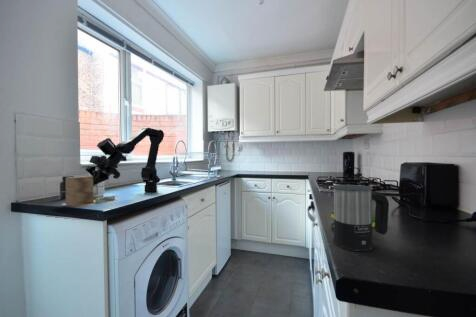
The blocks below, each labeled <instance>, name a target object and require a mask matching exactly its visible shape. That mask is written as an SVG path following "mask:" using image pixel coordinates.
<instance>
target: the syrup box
mask: <svg viewBox="0 0 476 317" xmlns="http://www.w3.org/2000/svg"><path fill="white" fill-rule="evenodd" d="M87 173H88V172H87ZM88 176H91V177H93V176H92V175H91V174H90V173H88ZM105 192H106V191H105V181H103V182H100V183H98V184H96V185H94V186H93V195H99V194H105Z"/></svg>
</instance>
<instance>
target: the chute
mask: <svg viewBox="0 0 476 317" xmlns="http://www.w3.org/2000/svg"><path fill="white" fill-rule="evenodd" d="M120 200H122V199H121V198H116V195H107V196H104V193H101V194H93V203H90V204H85V205H80V206H73V208H74V207H76V208H85V207H90V206H95V205H100V204H105V203H106V204H107V203H110V202H115V201H120ZM60 205H62V206H67V205H66V203H61V204H60Z"/></svg>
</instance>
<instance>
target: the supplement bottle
mask: <svg viewBox="0 0 476 317" xmlns="http://www.w3.org/2000/svg"><path fill="white" fill-rule="evenodd" d="M61 177H62V178H61V180H62V181H61V182H59V192H58V193H59V200H66V178H67V177H75V176H74V175H63V176H61Z"/></svg>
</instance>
